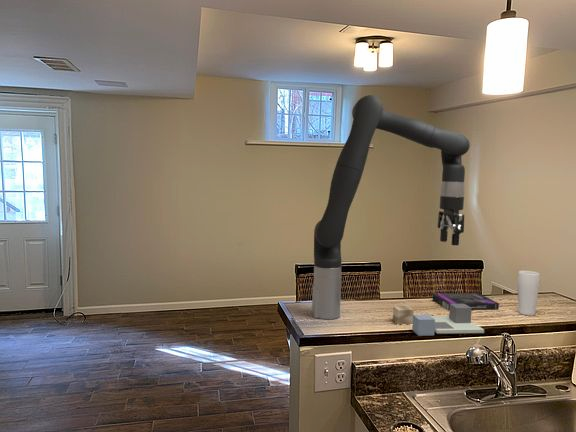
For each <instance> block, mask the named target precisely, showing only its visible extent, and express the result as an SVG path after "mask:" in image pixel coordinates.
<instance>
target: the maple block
mask: <svg viewBox="0 0 576 432" xmlns="http://www.w3.org/2000/svg"><path fill="white" fill-rule="evenodd" d="M392 308H393V309H392V321H393V320H394V321H395V322H396V323H397V324H406V325H405V326H411V325H410V324H413V315H414V309H413V308H412V307H410V306H409V305H393V307H392ZM394 321H393V322H394ZM395 322H394V323H395ZM396 323H395V324H396ZM397 324H396V325H397Z"/></svg>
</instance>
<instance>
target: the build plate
mask: <svg viewBox="0 0 576 432" xmlns="http://www.w3.org/2000/svg"><path fill="white" fill-rule="evenodd" d="M472 311H473V310H472V308H471V307H469V306H467V305H466V304H450V310H449V313H448V315H439V316H437V315H433V316H432V315H430V316H431V317H432V318H434V319H435V331H434V333H436V334H485V329H484V328H482V327H481V326H479V325H477V324H476V323H475V322H473V321H472Z"/></svg>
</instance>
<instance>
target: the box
mask: <svg viewBox="0 0 576 432" xmlns="http://www.w3.org/2000/svg"><path fill="white" fill-rule="evenodd" d="M432 301H433V302H435V304H437V303H438V304H437V305H439V304H440V305H439V306H441V307H442V306H443V307H442V308H444V309H445V308H446V309H445V310H447V311H449V310H450V304H466V305H467V306H469V307H471V308H472V311H486V310H487V311H499V308H500V303H499V302H497V301H495V300H493V299H491V298H490V297H487V296H485V295H483V294H482V293H479V292H476V293H475V292H466V293H464V292H459V293H457V292H454V293H453V292H447V293H444V292H443V293H442V292H441V293H440V292H439V293H432Z"/></svg>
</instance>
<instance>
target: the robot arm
mask: <svg viewBox="0 0 576 432" xmlns="http://www.w3.org/2000/svg"><path fill="white" fill-rule="evenodd" d="M383 106H384V105H383V103H382V101H381V99H380V98H379V97H378V96H376V95H372V94H370V95H368V94H367V95H365V96H362V97H361V98H359V99H358V101H357V102H356V103H355V104H354V105H353V108H352V111H351V114H352V119H353V120H352V124H351V129H350V132H349V135H348V137H347V139H346V141H345V143H344V145H343V147H342V149H341V152H340V154H339V155H338V158H337V161H336V164H335V167H334V171H333V173H332V176H331V181H330V185H329V186H330V187H329V194H328V195H329V196H328V200H327V201H328V202H327V205H326V208H325V210H324V212H323V215H322V218H321V219H320V220H319V221H317V223H316V225H315V226H314V231H313V265H314V266H313V286H312V297H311V298H312V299H311V305H312V306H311V314H312V316H313V317H314V319H322V320H335V319H339V318H340V317H341V297H342V295H341V293H342V292H341V290H342V289H341V287H342V284H341V283H342V250H341V248H342V245H341V244H342V243H341V242H342V240H343V239H344V234H345V228H346V222H347V218H348V215H349V211H350V208H351V206H352V203H353V201H354V198H355V196H356V193H357V191H358V188H359V185H360V183H361V179H362V177H363V174H364V169H365V165H366V163H367V160H368V159H367V158H368V155H369V151H370V146H371V142H372V139H373V136H374V134H375V132H376V129H377V130H381V131H385V132H388V133H391V134H394V135H397V136H399V137H402V138H405V139H406V140H409V141H412V142H415V143H417V144H419V145H422V146H425V147H427V148H430V149H431V148H432V149H437V150H440V154H441V155H440V157H441V164H442V176H441V177H442V178H441V185H440V194H439V196H440V197H439V209H440V210H441V211H440V210H439V211H438V214H437V216H438V217H437V218H438V219H437V229H439V231H440V233H439V235H440V237H439V241H440V242H444V243H447V241H448V232H449V231H448V230H449V228H450V229H451V233H452V234H451V245H452V246H459V244H460V235H461V234H463V233H464V231H465V230H464V229H465V214H463V213H460V211H462V210H464V203H465V172H466V169H465V166H464V165H463V162H462V161H463V160H462V156H464V155H466V153H468V151H469V149H470V147H471V144H470V140H469V139H468V138H467V137H466V136H465V135H463V134H461V133H458V132H456V131H451V130H449V129H443V128H440V127H438V126H435V125H433V124H430V123H428V122H425V121H422V120H419V119H415V118H411V117H406V116H402V115H398V114H395V113H393V112H390V111H388V110H386V109H384V107H383ZM442 210H443V211H442Z"/></svg>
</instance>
